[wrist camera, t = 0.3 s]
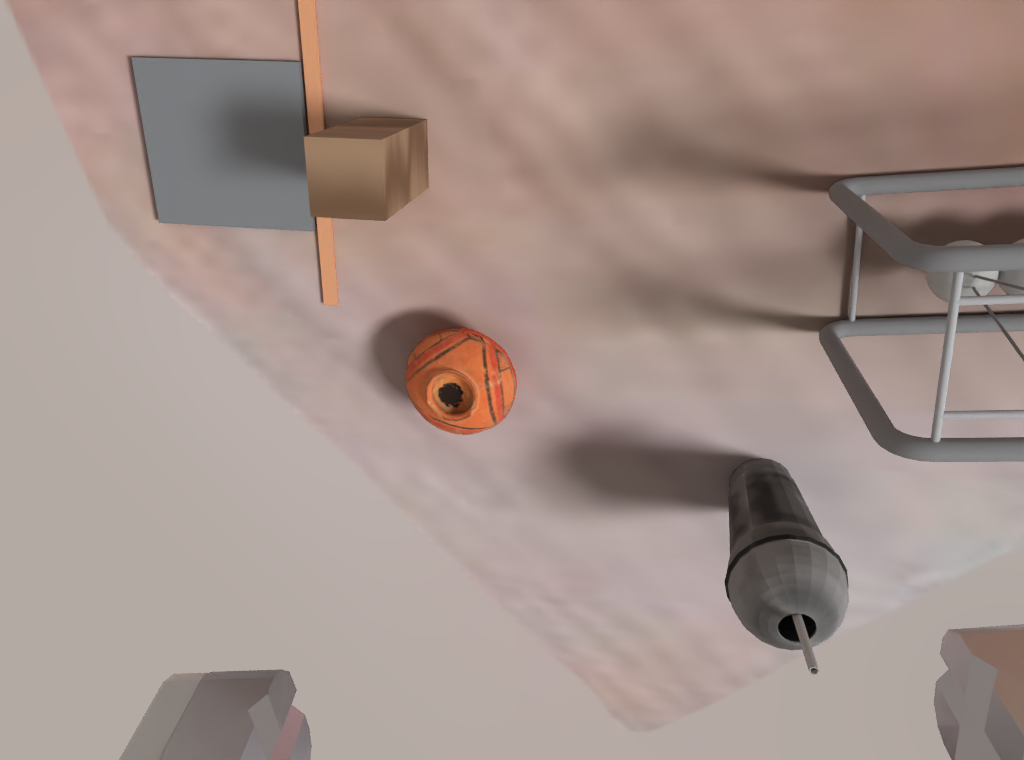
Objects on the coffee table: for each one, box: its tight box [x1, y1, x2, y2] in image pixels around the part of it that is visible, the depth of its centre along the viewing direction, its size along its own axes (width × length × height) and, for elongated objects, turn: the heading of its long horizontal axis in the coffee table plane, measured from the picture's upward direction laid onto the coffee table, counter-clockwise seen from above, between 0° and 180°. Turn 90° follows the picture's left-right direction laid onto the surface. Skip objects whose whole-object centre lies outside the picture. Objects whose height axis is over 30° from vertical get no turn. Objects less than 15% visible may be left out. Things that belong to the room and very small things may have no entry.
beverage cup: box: [725, 459, 849, 675], centre depth 50 cm, size 7×7×20 cm
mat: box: [131, 57, 316, 231], centre depth 54 cm, size 11×12×1 cm
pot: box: [405, 328, 517, 435], centre depth 56 cm, size 8×8×7 cm
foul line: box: [298, 0, 338, 306], centre depth 53 cm, size 22×1×1 cm, turn 179°
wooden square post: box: [304, 117, 429, 221], centre depth 48 cm, size 4×4×10 cm
